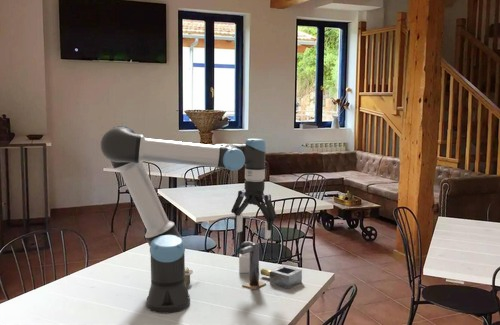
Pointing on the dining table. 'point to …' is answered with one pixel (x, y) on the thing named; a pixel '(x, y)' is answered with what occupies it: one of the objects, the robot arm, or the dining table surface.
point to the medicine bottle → (244, 259)
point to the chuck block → (284, 276)
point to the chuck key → (252, 262)
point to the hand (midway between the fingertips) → (253, 235)
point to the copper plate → (254, 286)
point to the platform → (187, 275)
